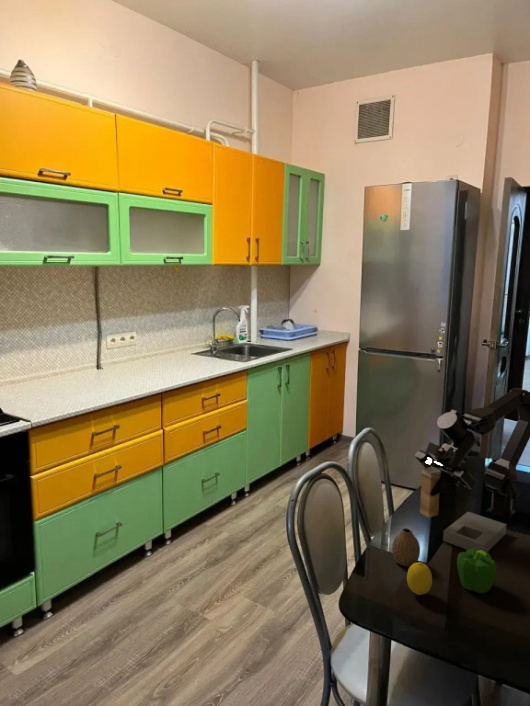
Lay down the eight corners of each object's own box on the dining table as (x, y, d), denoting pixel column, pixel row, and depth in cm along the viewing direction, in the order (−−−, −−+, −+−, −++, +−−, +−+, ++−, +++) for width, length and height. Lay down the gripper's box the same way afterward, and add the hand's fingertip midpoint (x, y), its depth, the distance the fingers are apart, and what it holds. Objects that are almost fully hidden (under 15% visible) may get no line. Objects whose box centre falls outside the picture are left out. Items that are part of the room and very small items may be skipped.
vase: (419, 557, 134) (421, 526, 133) (418, 572, 128) (420, 539, 127) (392, 553, 137) (394, 521, 135) (390, 566, 130) (391, 534, 129)
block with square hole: (467, 521, 154) (468, 511, 154) (505, 534, 147) (506, 524, 146) (442, 540, 143) (443, 530, 142) (483, 555, 135) (483, 545, 135)
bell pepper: (451, 576, 126) (453, 538, 125) (485, 577, 126) (488, 539, 124) (463, 597, 118) (466, 557, 116) (499, 598, 118) (503, 558, 116)
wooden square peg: (429, 509, 149) (431, 466, 146) (438, 515, 145) (441, 471, 143) (419, 512, 147) (421, 468, 145) (428, 517, 144) (431, 473, 142)
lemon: (432, 603, 116) (434, 570, 115) (406, 600, 117) (408, 567, 116) (429, 589, 121) (431, 557, 120) (405, 586, 122) (406, 554, 121)
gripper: (420, 423, 152) (389, 465, 149) (470, 442, 136) (436, 489, 133) (439, 445, 157) (409, 486, 154) (489, 466, 140) (457, 512, 137)
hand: (426, 492), depth 145 cm, fingers closed on wooden square peg, 3 cm apart
